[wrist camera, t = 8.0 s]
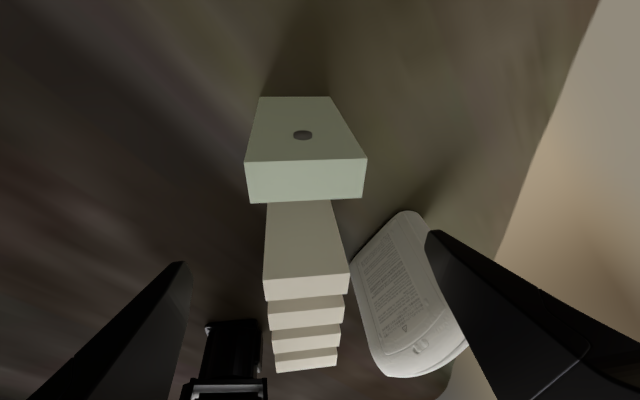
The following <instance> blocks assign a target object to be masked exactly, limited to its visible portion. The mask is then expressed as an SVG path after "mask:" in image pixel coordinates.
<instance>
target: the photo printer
mask: <svg viewBox="0 0 640 400" xmlns="http://www.w3.org/2000/svg"><path fill="white" fill-rule="evenodd" d="M429 231H430V228H429V227H428V226H427V224H426V223H425V222H424V220H423V219H422V217H421V216H420V215H419V214H418V213H417V212H414V211H403V212H399V213H398V214H396V215H395V216H394V217H393V218H392V219H391V220H390V221H389V222H388V223H387V224H386V225H385V226H384V227H383V228H382V229H381V230H380V231H379V232H378V233H377V234H376V235H375V236H374V237H373V238H372V239H371V240H370V241H369V242H368V243H367V244H366V246H365V247H364V248H363V249H362V250H361V251H360V252H359V253H358V254H357V255H356V256H355V257H354V259H353V260H352V261H351V263H350V264H349V270H350V275H351V279H352V283H353V287H354V290H355V294H356V298H357V302H358V306H359V309H360V313H361V317H362V321H363V325H364V329H365V332H366V336H367V340H368V344H369V348H370V351H371V354H372V357H373V359H374V361H375V362H376V364H377V366H378V367H379V368H380V370H381V371H382V372H383V373H384V374H385V375H386V376H389V377H401V378H408V377H416V376H420V375H424V374H426V373H429V372H432V371H434V370H436V369H438V368H440V367H442V366H444V365H445V364H447V363H448V362H450V361H451V360H453V359H454V358H455V357H456V356H458V355H459V354H460V353H461V352H462V351H463V350H464V349H465V348H466V347H468V345H469V344H468V342H467V340H466V338H465V337H464V335H463V333H462V331H461V329H460V327H459V325H458V323H457V321H456V319H455V317H454V316H453V314H452V312H451V310H450V308H449V306H448V304H447V302H446V300H445V298H444V296H443V294H442V293H441V291H440V288H439V286H438V284H437V282H436V279H435V277H434V274H433V271H432V269H431V266H430V264H429V261H428V259H427V256H426V254H425V251H424V244H425V240H426V237H427V233H428V232H429Z"/></svg>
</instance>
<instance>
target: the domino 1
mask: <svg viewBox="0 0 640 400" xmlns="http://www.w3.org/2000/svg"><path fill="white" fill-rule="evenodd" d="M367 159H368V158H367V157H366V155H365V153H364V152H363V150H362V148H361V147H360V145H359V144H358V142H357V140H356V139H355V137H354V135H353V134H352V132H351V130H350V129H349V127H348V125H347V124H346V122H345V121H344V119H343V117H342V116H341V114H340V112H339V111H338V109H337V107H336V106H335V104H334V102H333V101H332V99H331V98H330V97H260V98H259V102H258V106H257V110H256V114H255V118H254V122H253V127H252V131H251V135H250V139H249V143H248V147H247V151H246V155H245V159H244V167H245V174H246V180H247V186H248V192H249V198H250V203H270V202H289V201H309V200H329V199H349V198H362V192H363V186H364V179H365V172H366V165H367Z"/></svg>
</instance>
